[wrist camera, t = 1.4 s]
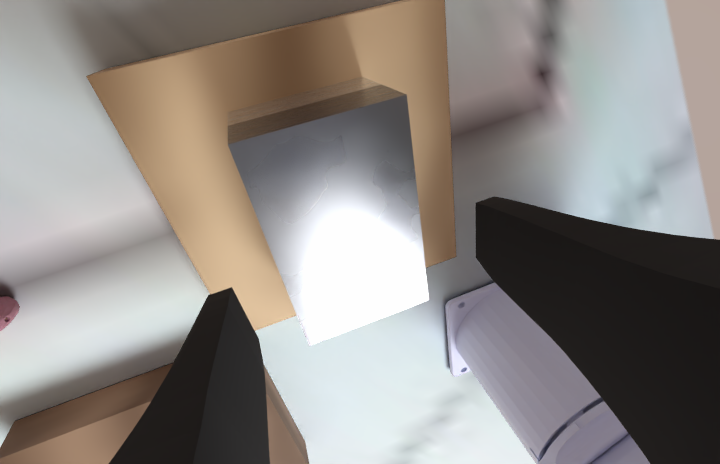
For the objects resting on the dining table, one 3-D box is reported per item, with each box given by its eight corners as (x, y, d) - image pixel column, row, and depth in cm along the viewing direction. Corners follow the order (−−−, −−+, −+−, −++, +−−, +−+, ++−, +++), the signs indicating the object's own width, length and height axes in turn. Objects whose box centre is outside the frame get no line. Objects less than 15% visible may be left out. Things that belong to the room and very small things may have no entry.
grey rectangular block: (362, 76, 13) (406, 94, 10) (391, 248, 18) (429, 300, 14) (227, 112, 12) (227, 144, 9) (293, 282, 17) (309, 346, 13)
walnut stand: (247, 335, 20) (249, 363, 18) (305, 441, 27) (310, 469, 25) (14, 421, 18) (-7, 461, 16) (138, 513, 25) (131, 548, 23)
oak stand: (419, -4, 14) (444, -8, 13) (438, 238, 21) (456, 256, 19) (105, 68, 12) (86, 75, 11) (234, 310, 19) (235, 337, 17)
